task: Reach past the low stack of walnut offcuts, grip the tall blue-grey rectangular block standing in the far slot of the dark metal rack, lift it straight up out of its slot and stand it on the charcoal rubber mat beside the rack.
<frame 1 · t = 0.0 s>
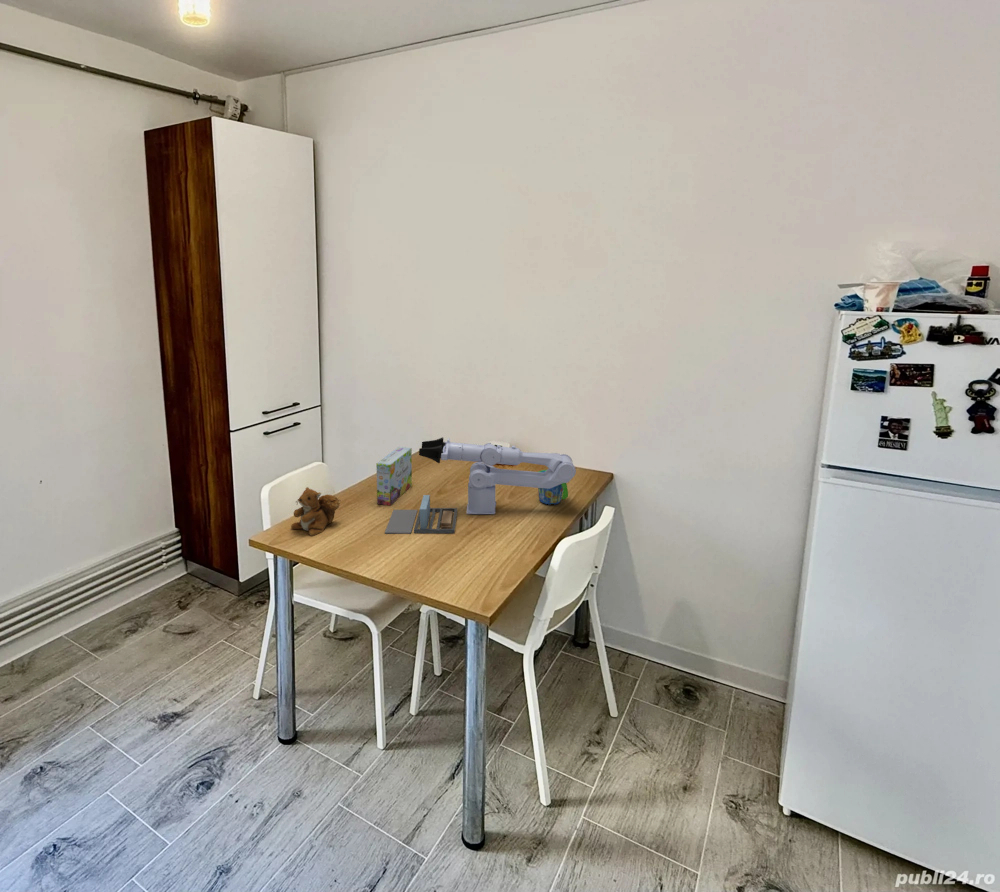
hand: (420, 448, 194), 22 cm above the table, tool horizontal, fingers open, 7 cm apart
snack cup: (550, 502, 209), on the table, touching arm
stuffed squirrel: (317, 527, 186), on the table
snack box: (395, 495, 213), on the table
blue-grey rectangular block: (425, 522, 190), resting in metal rack
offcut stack: (447, 522, 190), resting in metal rack
metal rack: (436, 521, 190), on the table
charcoal mat: (401, 521, 190), on the table
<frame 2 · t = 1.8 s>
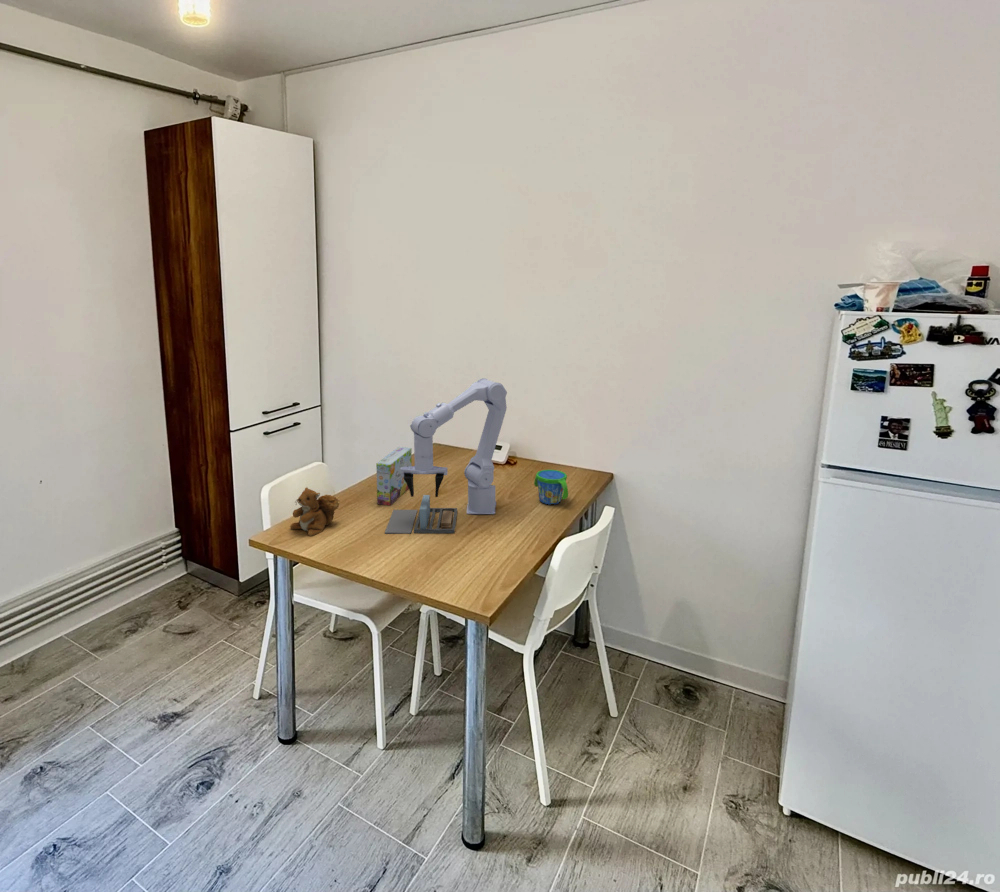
hand: (424, 495, 188), 9 cm above the table, tool pointing down, fingers open, 7 cm apart
snack cup: (550, 502, 209), on the table
everything else where it was.
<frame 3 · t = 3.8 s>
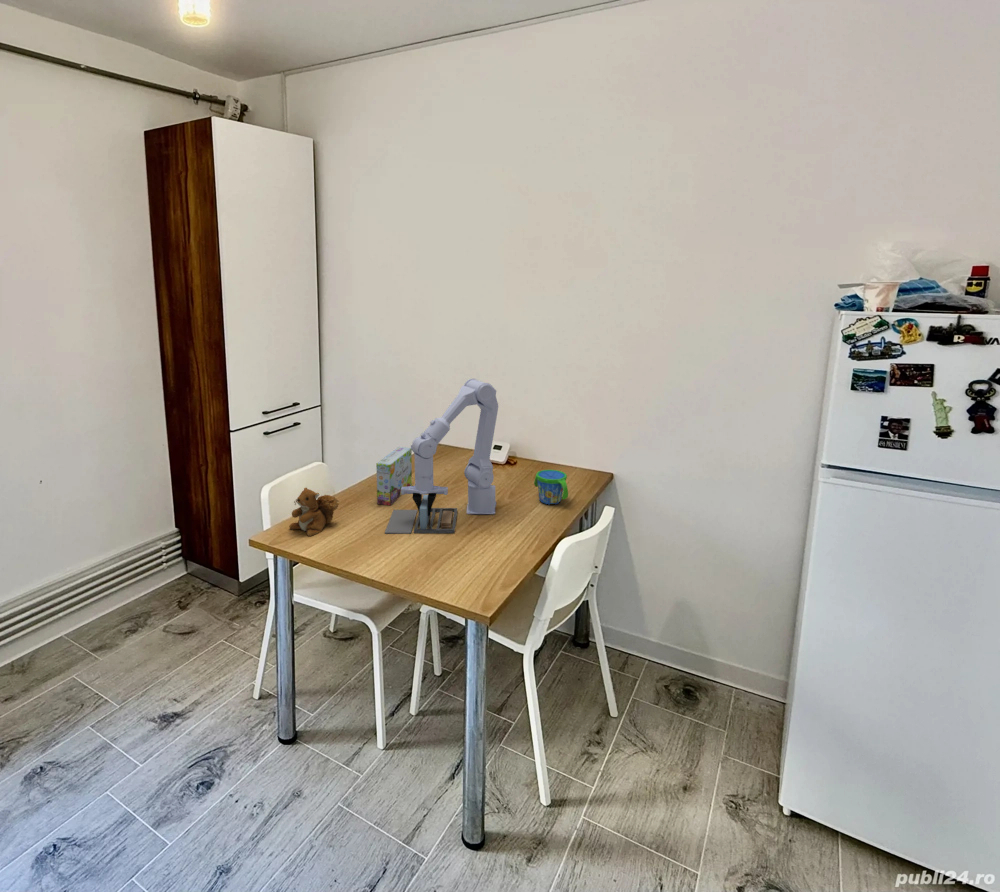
hand: (425, 514, 189), 2 cm above the table, tool pointing down, fingers closed on blue-grey rectangular block, 2 cm apart
blue-grey rectangular block: (425, 522, 190), resting in metal rack, touching gripper
everything else where it was.
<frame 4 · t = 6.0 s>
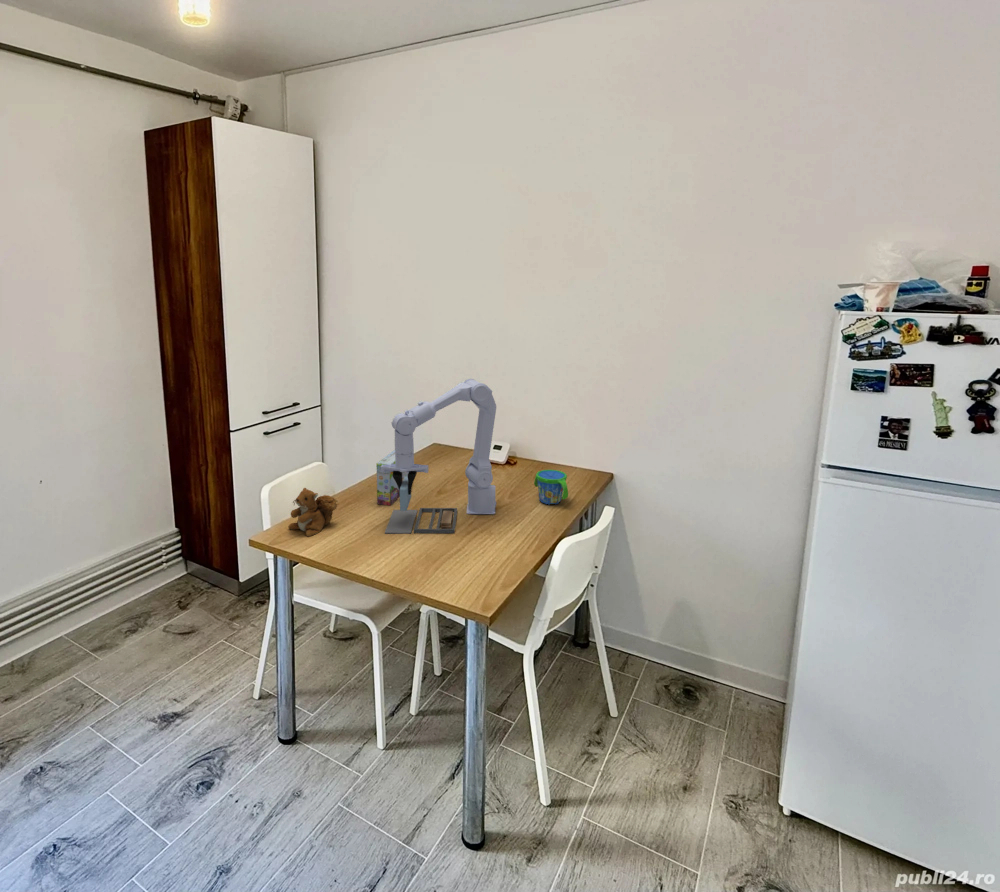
hand: (405, 493, 187), 10 cm above the table, tool pointing down, fingers closed on blue-grey rectangular block
blue-grey rectangular block: (405, 503, 188), point 6 cm above the table, touching gripper
everything else where it was.
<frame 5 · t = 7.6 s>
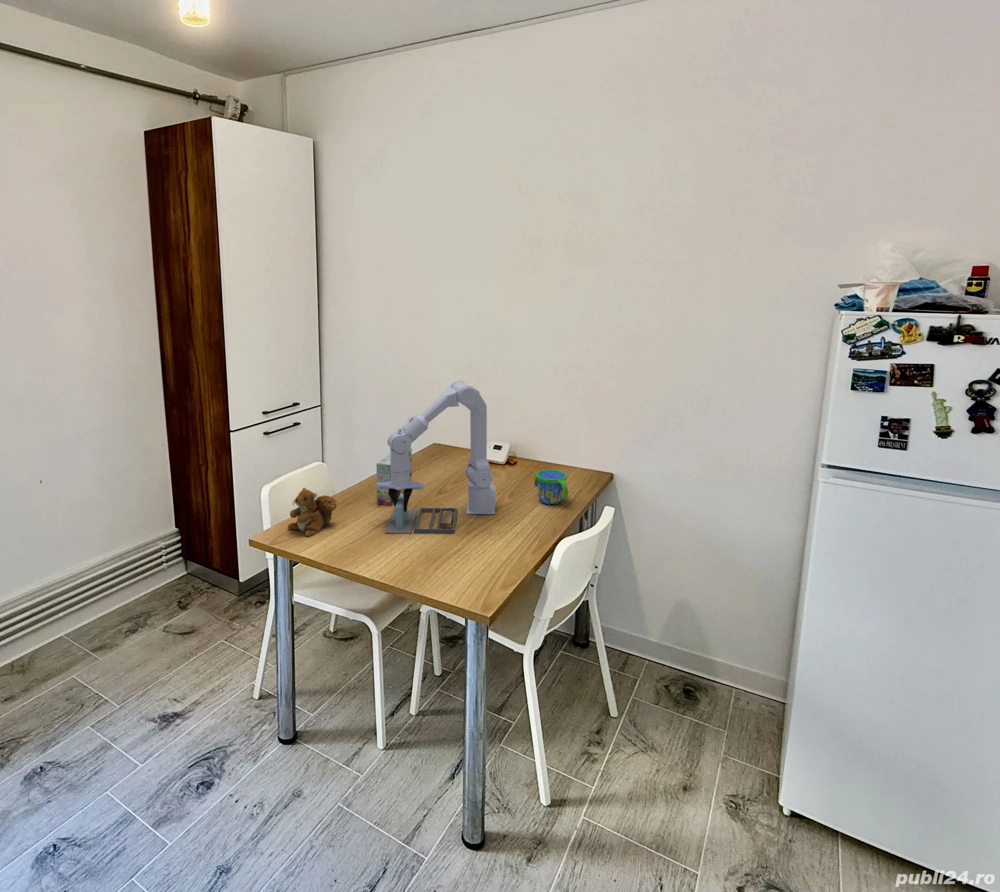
hand: (401, 510, 189), 4 cm above the table, tool pointing down, fingers closed on blue-grey rectangular block, 2 cm apart
blue-grey rectangular block: (401, 520, 190), resting on charcoal mat, touching gripper
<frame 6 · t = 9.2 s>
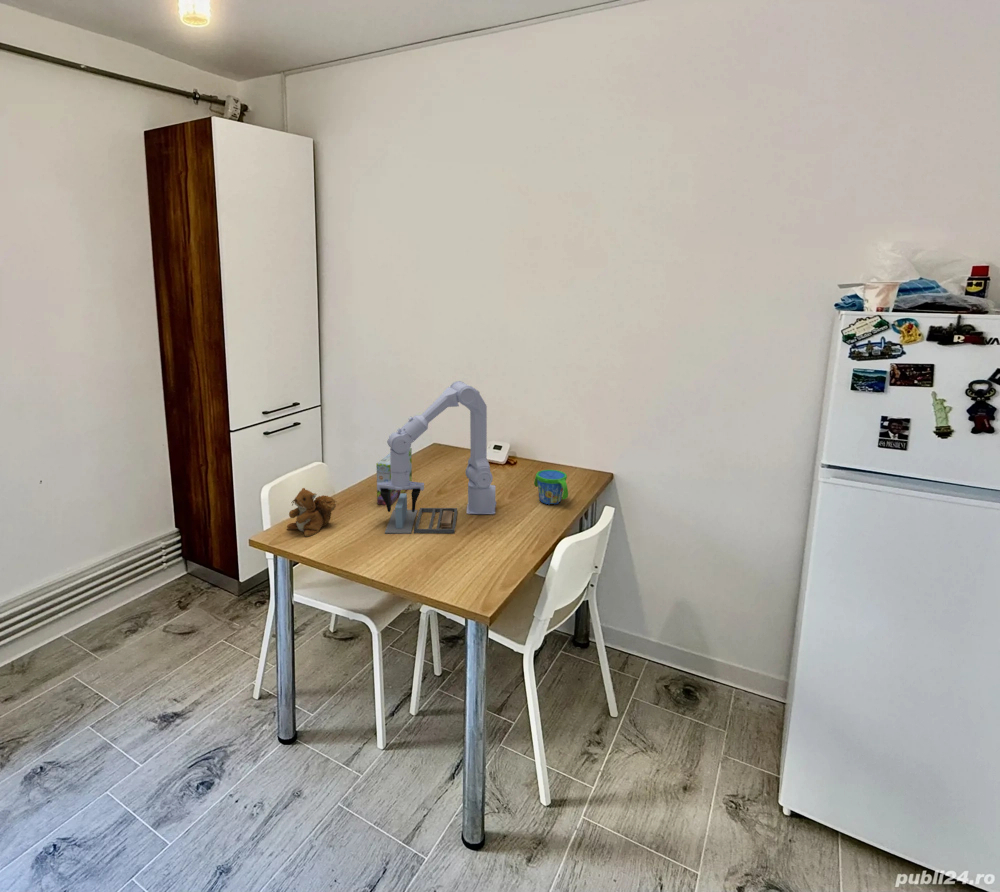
hand: (401, 510, 189), 4 cm above the table, tool pointing down, fingers open, 7 cm apart
blue-grey rectangular block: (401, 520, 190), resting on charcoal mat
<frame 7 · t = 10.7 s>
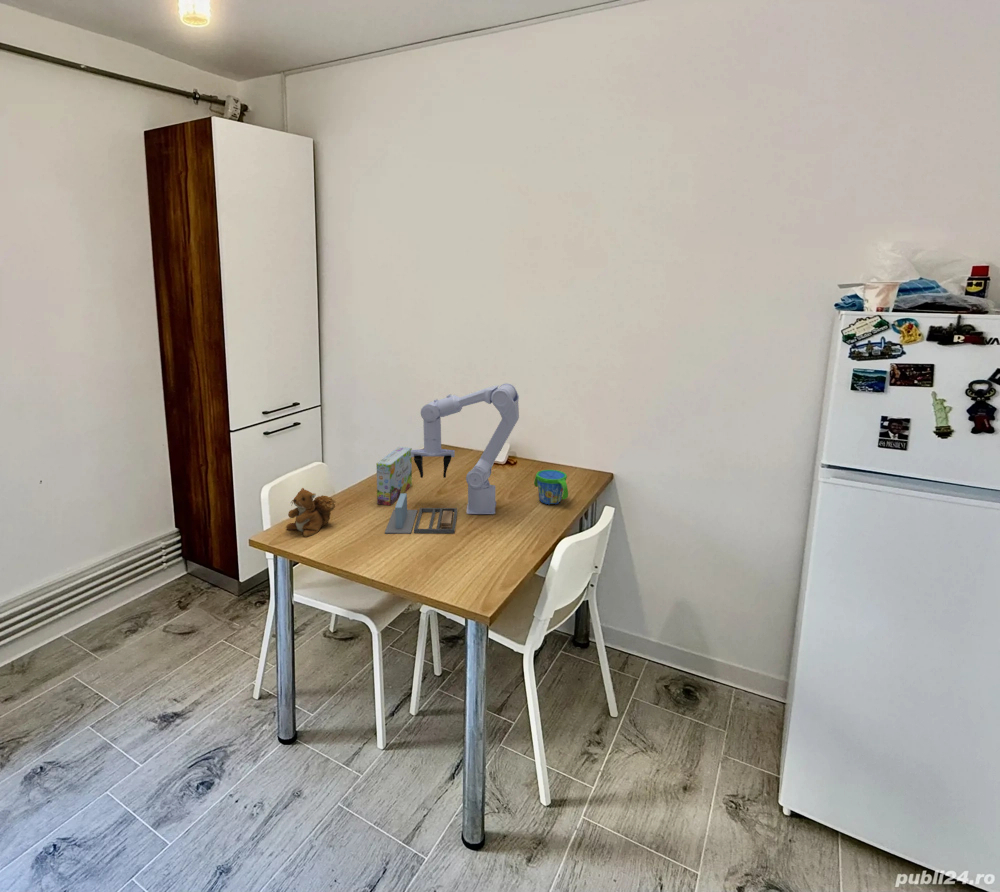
hand: (433, 476, 201), 10 cm above the table, tool pointing down, fingers open, 7 cm apart
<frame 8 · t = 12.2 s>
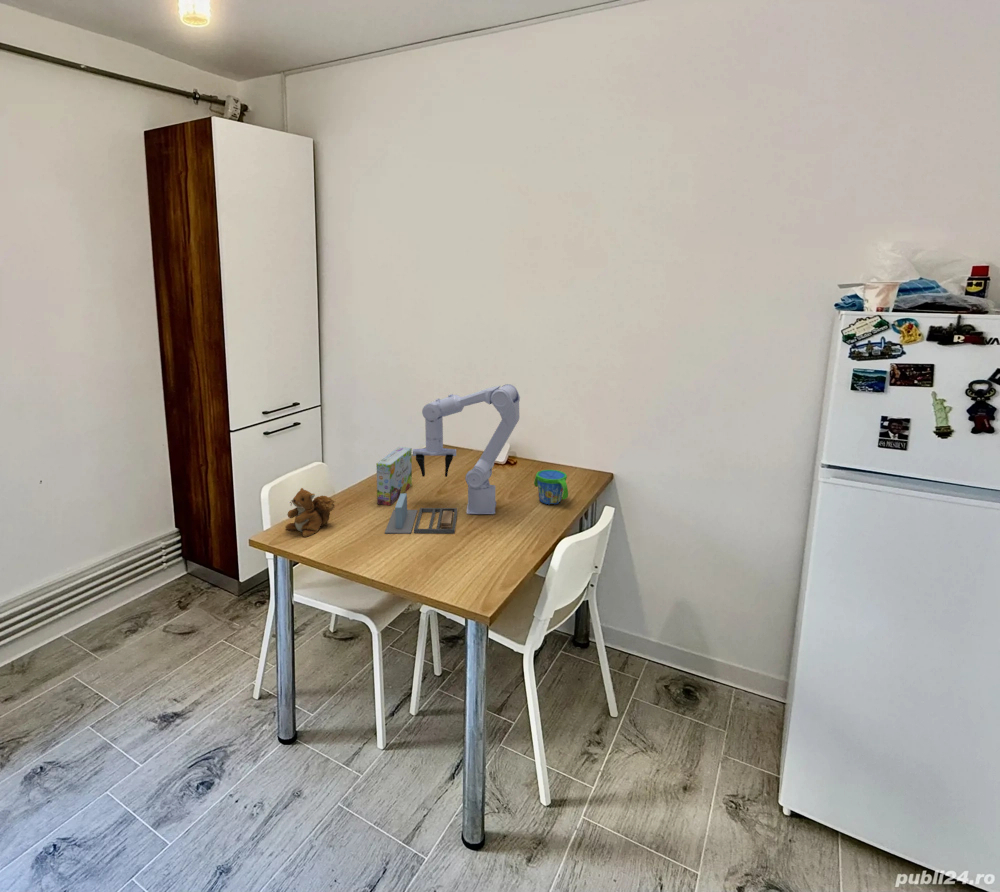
hand: (434, 475, 202), 10 cm above the table, tool pointing down, fingers open, 7 cm apart
at the end: blue-grey rectangular block inside the target area on the charcoal mat (0.0 cm from its centre), point 0.4 cm above the charcoal mat's base; blue-grey rectangular block tilted 0°; the gripper is holding nothing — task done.
